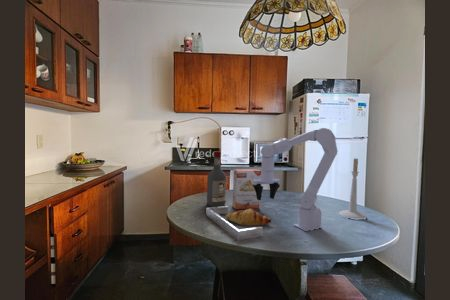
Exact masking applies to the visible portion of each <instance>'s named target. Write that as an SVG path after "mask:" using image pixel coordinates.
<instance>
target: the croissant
mask: <svg viewBox="0 0 450 300" xmlns="http://www.w3.org/2000/svg"><path fill="white" fill-rule="evenodd" d="M225 218H226V219H227V221H230V222H232V223H235V224H238V225H241V226H242V225H243V226H249V227H250V226H251V227H252V226H266V225H268V224H271V223H272V218H270V217H267V216H266V215H263V214H261V213H260V212H257V211H256V210H255V208H252V209H251V208H250V209H244V210H237V211H235V212H230V213H227V214H225Z"/></svg>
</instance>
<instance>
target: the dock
mask: <svg viewBox="0 0 450 300" xmlns="http://www.w3.org/2000/svg"><path fill="white" fill-rule="evenodd" d="M205 209H206V210H205V211H206V214H205V215H206V217H208V218H209V219H211V220H212V221H213V222H215V223H216V224H217V225H218V226H219V227H221V228H222V229H223V230H224V231H225V232H227V233H228V234H230V235H231V237H233V238H234V239H235V240H237V241H243V240H249V239H254V238H255V239H256V238H262V237H263V234H264V233H263V231H264V229H263V228H264V227H263V226H253V227H248V228H242V229H239V228H237V227H236V226H234V225H233V223H230V222H229V221H228V220H226V219H224V218H223V217H222V216H221V215H227V214H229V206H227V205H224V206H220V207H212V206H210V207H206V208H205Z"/></svg>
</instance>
